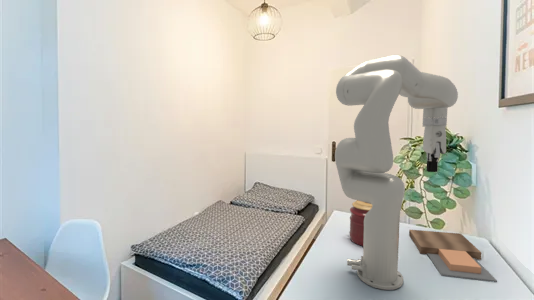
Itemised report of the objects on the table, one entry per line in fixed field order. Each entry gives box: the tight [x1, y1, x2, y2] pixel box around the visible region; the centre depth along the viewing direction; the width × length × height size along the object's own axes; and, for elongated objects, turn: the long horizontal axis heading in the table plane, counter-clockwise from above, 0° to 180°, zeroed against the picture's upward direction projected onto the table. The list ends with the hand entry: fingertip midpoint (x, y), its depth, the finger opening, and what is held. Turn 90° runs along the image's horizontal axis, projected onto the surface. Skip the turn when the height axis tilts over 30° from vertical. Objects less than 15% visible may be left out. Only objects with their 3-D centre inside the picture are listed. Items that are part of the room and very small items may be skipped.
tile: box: [438, 249, 481, 274], centre depth 84 cm, size 8×10×2 cm
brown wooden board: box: [408, 229, 482, 261], centre depth 96 cm, size 18×15×2 cm
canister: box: [349, 200, 372, 247], centre depth 101 cm, size 13×13×18 cm
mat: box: [426, 253, 498, 283], centre depth 82 cm, size 14×13×1 cm
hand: (431, 171), depth 98 cm, fingers closed
